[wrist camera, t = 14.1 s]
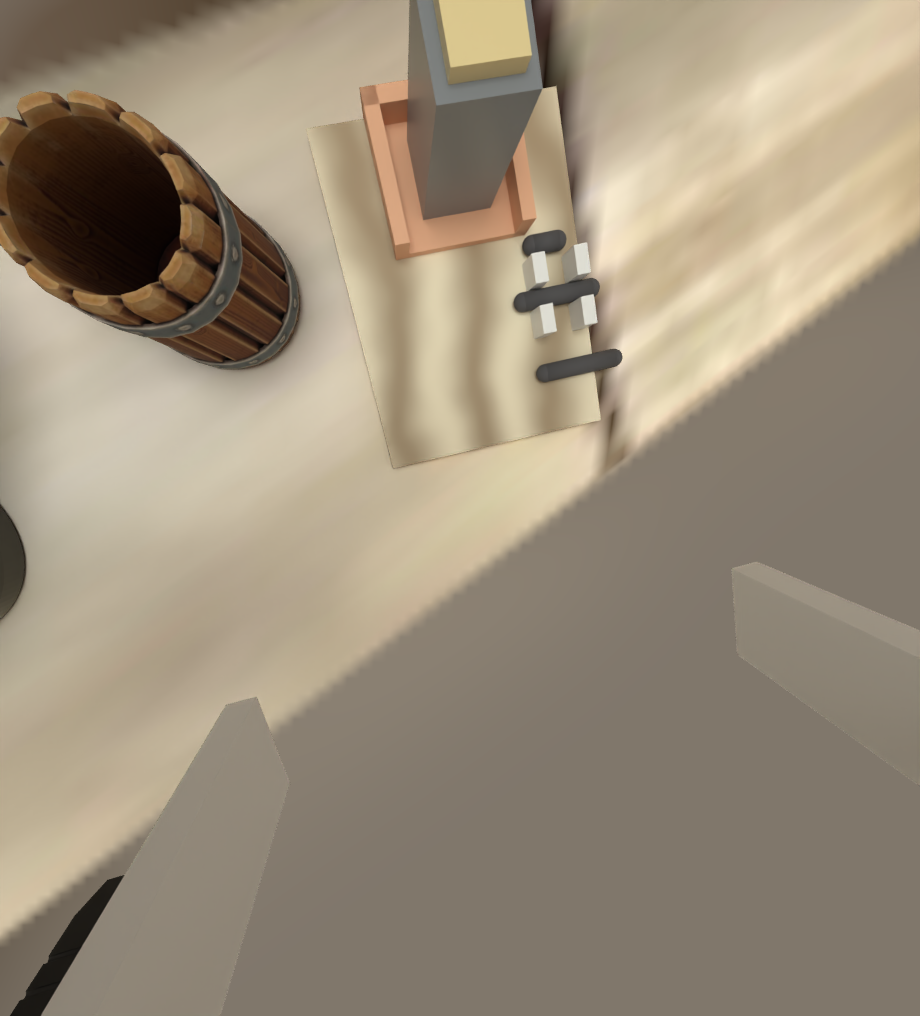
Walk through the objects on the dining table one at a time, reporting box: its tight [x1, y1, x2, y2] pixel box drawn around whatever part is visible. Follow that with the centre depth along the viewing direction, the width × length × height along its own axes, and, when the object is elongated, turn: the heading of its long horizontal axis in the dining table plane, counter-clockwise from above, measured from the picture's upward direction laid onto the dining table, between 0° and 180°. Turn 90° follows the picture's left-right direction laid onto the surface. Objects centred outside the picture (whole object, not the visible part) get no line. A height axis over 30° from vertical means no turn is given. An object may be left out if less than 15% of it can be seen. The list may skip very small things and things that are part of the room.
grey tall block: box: [407, 0, 543, 220], centre depth 24 cm, size 5×5×13 cm
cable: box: [514, 230, 622, 382], centre depth 34 cm, size 8×11×1 cm
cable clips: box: [522, 243, 597, 339], centre depth 33 cm, size 4×6×2 cm
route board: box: [306, 87, 601, 469], centre depth 34 cm, size 18×24×1 cm
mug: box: [0, 90, 300, 369], centre depth 25 cm, size 16×11×15 cm
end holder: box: [360, 80, 537, 260], centre depth 30 cm, size 10×9×3 cm
